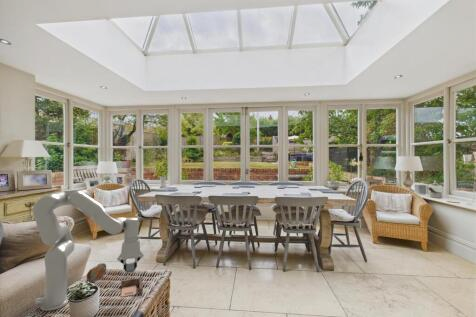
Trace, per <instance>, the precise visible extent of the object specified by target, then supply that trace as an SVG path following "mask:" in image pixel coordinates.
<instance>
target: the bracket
mask: <svg viewBox="0 0 476 317" xmlns="http://www.w3.org/2000/svg"><path fill="white" fill-rule="evenodd" d="M134 262H135V261H134ZM134 262H133V261H132V262H126V271H125V273H134V272H135V270H134Z"/></svg>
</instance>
